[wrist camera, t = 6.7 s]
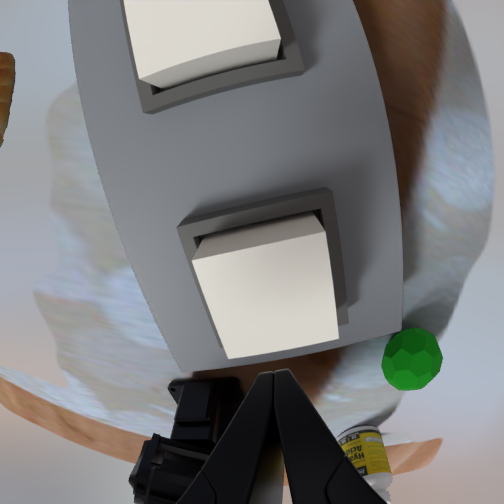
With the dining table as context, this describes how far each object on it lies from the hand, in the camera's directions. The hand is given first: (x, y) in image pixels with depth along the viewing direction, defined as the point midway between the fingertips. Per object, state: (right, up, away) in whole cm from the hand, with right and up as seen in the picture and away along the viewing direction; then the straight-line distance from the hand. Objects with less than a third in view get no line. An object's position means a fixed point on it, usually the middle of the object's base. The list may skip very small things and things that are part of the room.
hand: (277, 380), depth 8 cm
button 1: (0, +3, +7) cm, 7 cm away
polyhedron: (+12, -4, +14) cm, 18 cm away
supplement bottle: (+11, -17, +19) cm, 28 cm away
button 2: (-3, +13, +2) cm, 14 cm away
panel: (-1, +10, +8) cm, 13 cm away
